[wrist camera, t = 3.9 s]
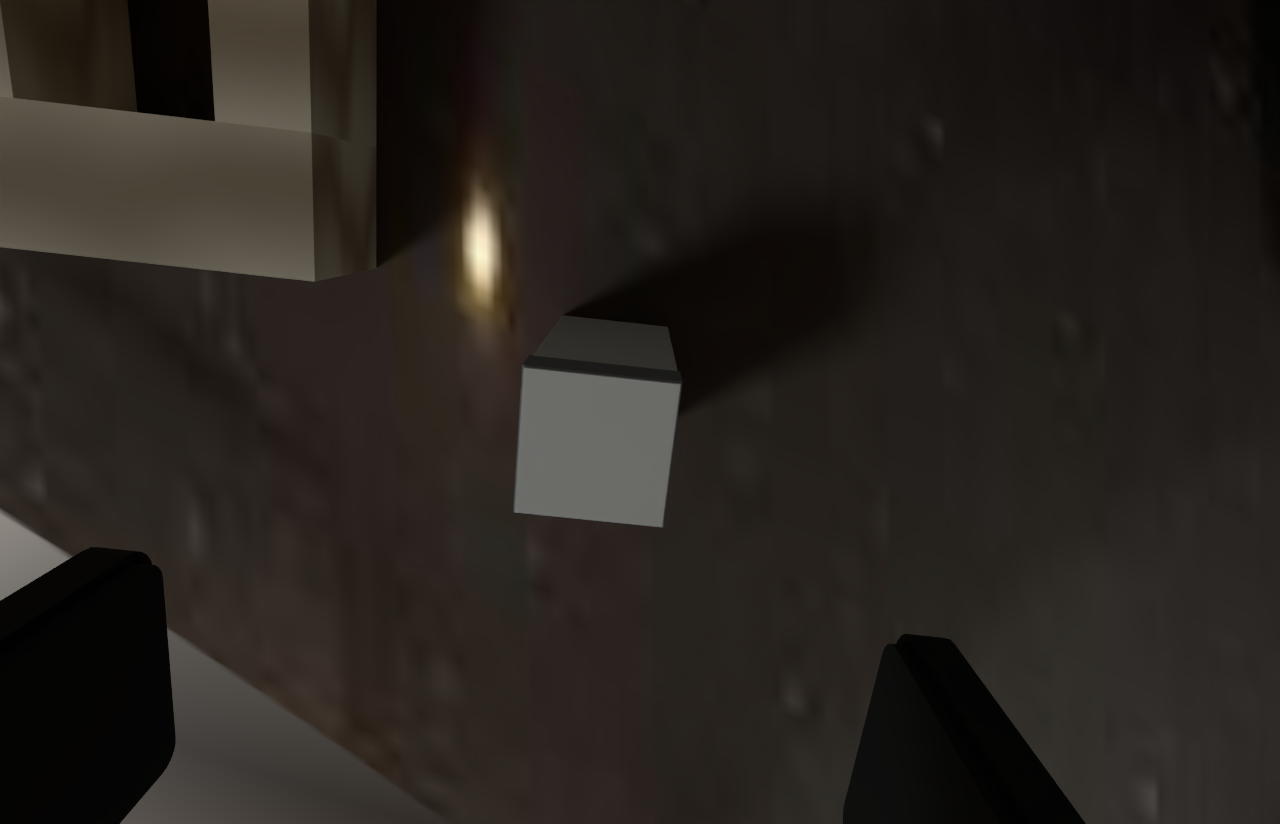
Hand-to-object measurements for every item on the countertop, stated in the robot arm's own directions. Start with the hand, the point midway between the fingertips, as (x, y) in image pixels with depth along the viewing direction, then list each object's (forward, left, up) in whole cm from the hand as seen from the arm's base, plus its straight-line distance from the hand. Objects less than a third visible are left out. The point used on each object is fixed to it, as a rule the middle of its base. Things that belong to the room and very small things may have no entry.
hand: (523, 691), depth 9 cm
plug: (0, 0, -19) cm, 19 cm away
